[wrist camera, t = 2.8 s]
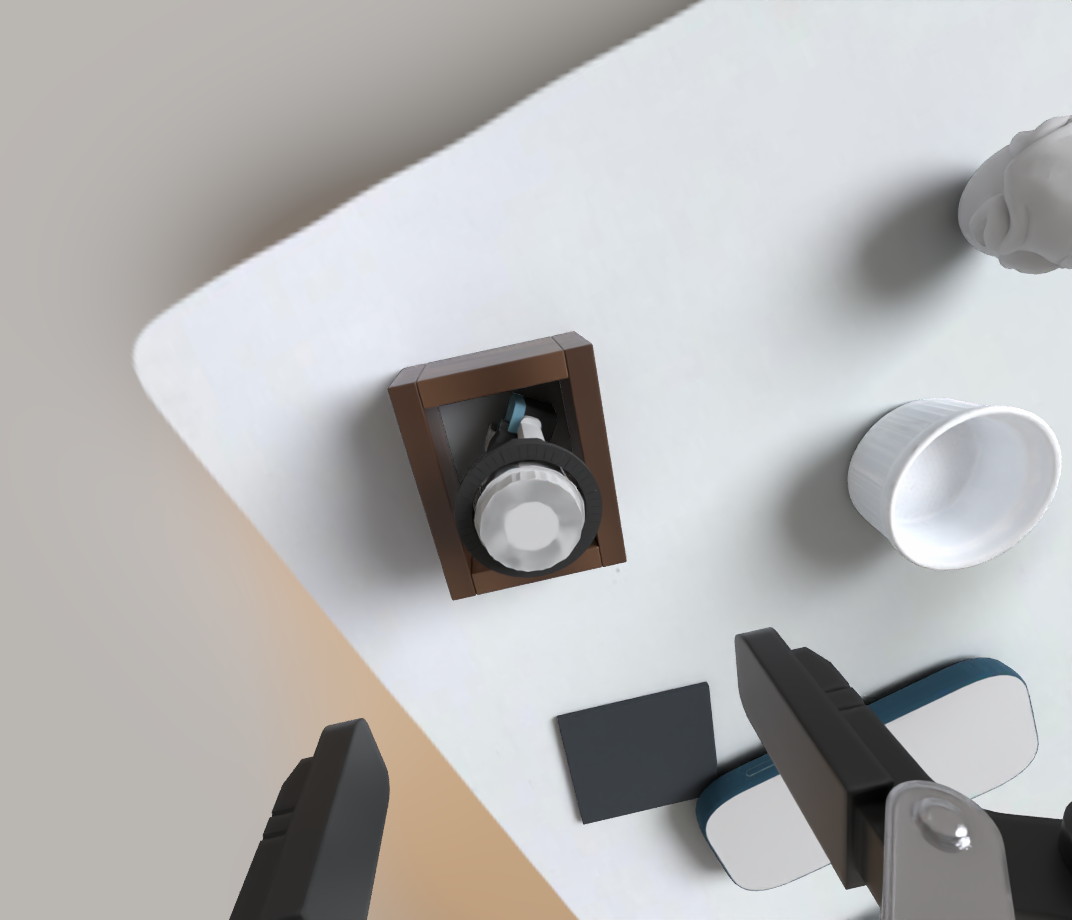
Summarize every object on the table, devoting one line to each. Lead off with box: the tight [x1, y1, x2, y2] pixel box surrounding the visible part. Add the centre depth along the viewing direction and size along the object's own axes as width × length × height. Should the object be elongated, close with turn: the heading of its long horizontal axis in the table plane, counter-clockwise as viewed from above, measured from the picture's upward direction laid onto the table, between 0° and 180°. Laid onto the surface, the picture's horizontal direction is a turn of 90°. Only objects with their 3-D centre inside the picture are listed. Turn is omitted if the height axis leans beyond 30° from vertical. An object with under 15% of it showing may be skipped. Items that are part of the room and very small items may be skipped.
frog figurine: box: [958, 115, 1072, 274], centre depth 22 cm, size 6×7×7 cm
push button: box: [455, 392, 602, 578], centre depth 23 cm, size 7×5×10 cm
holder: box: [388, 331, 627, 600], centre depth 26 cm, size 9×11×4 cm
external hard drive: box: [696, 658, 1038, 891], centre depth 37 cm, size 24×12×2 cm, turn 118°
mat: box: [557, 682, 718, 824], centre depth 36 cm, size 10×10×1 cm
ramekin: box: [848, 398, 1062, 570], centre depth 28 cm, size 9×9×4 cm
